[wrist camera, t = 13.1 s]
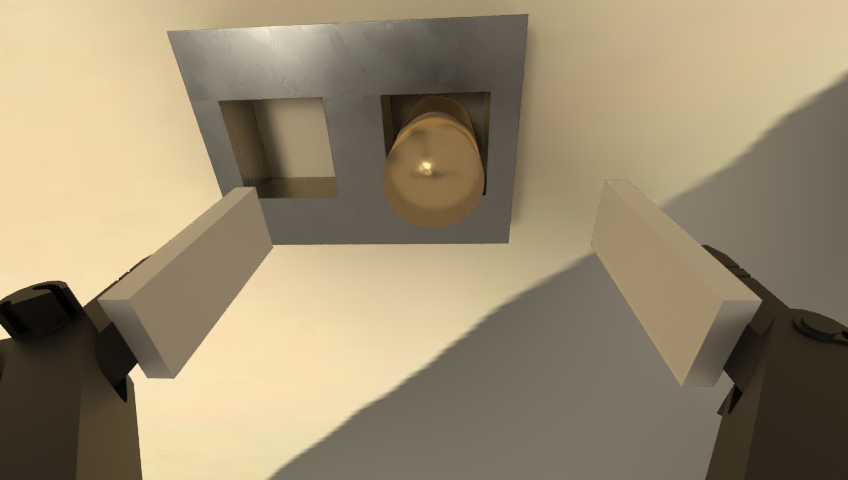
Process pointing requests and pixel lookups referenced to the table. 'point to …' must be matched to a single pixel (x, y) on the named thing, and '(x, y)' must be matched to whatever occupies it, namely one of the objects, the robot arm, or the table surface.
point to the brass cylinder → (434, 165)
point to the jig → (355, 116)
